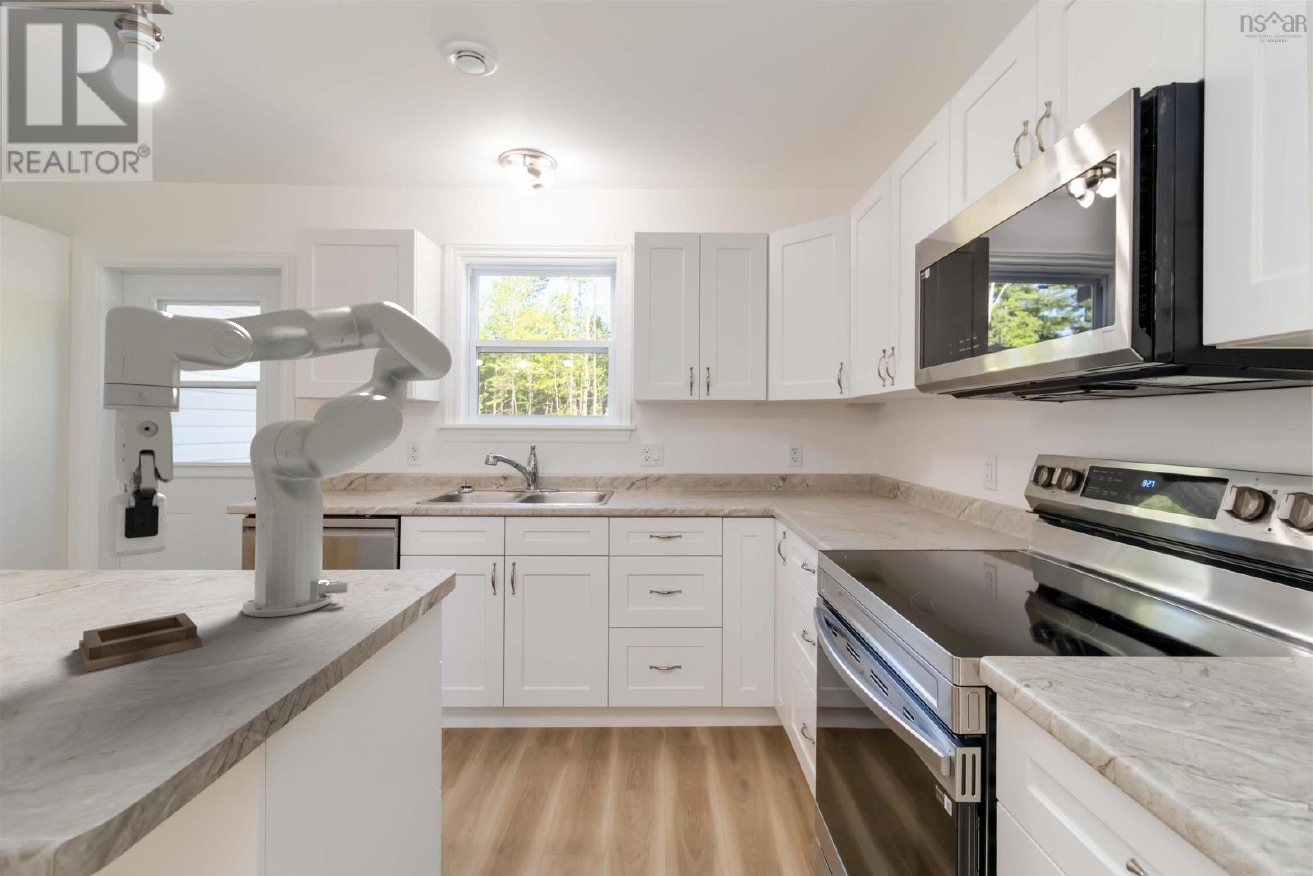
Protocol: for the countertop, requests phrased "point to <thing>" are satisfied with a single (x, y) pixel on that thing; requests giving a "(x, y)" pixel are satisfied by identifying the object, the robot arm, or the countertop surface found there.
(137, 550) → the eye dropper bottle
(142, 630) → the pocket plate
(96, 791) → the countertop surface
